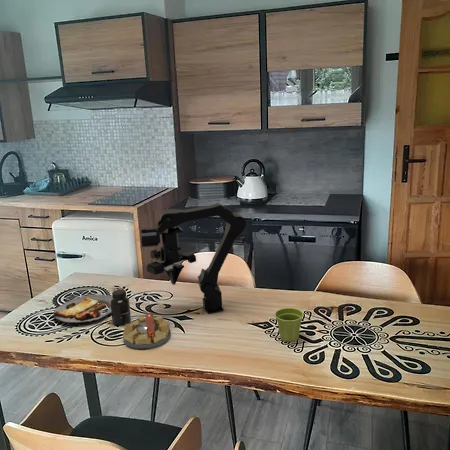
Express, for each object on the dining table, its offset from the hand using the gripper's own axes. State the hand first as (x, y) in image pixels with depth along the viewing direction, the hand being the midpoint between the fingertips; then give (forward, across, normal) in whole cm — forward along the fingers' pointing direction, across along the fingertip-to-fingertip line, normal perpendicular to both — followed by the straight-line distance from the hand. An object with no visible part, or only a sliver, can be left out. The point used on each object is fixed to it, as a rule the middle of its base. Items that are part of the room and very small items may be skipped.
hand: (173, 284), depth 169 cm
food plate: (+13, +23, -28) cm, 38 cm away
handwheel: (+10, +18, +7) cm, 22 cm away
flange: (+12, +18, +7) cm, 23 cm away
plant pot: (+12, -15, +43) cm, 47 cm away
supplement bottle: (+12, +18, -10) cm, 24 cm away
